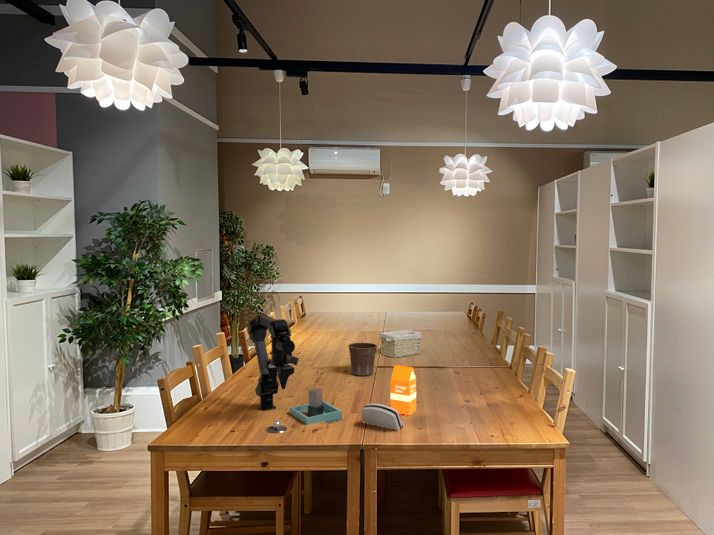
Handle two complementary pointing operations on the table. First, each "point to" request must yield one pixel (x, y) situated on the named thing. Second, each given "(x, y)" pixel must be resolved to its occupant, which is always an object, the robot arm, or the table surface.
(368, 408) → the magnetic glass cleaner
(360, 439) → the table surface
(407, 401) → the orange juice
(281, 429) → the stud plate
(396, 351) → the storage basket
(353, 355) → the plant pot
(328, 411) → the bin
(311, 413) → the strut
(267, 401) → the robot arm
